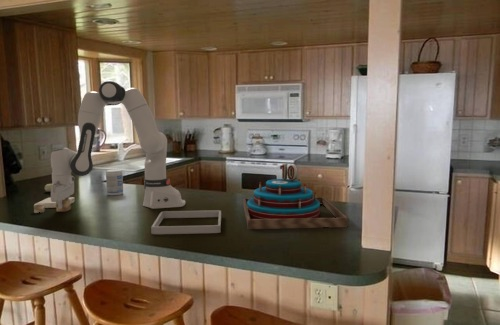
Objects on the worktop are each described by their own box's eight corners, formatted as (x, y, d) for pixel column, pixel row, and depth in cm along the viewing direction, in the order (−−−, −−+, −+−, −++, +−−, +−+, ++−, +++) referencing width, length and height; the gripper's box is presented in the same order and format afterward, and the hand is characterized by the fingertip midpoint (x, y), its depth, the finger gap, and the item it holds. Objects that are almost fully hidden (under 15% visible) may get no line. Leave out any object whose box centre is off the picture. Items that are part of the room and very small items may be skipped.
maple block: (44, 210, 199) (44, 202, 199) (43, 212, 195) (42, 204, 195) (35, 211, 198) (35, 203, 197) (34, 213, 194) (33, 205, 194)
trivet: (74, 201, 219) (74, 197, 219) (64, 207, 205) (64, 202, 205) (48, 201, 218) (48, 197, 218) (36, 207, 204) (36, 203, 204)
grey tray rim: (221, 216, 186) (221, 210, 186) (220, 232, 161) (220, 225, 160) (161, 217, 185) (161, 211, 184) (151, 234, 159) (150, 227, 158)
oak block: (70, 208, 202) (70, 199, 201) (66, 211, 197) (66, 201, 196) (60, 209, 202) (60, 199, 201) (56, 211, 197) (55, 201, 196)
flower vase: (56, 202, 250) (79, 198, 226) (35, 199, 241) (57, 195, 218) (59, 184, 253) (82, 178, 229) (39, 181, 244) (60, 174, 220)
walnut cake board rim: (323, 204, 211) (323, 196, 210) (347, 227, 168) (348, 218, 168) (243, 205, 208) (243, 198, 208) (247, 229, 166) (247, 219, 165)
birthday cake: (232, 213, 192) (232, 164, 189) (282, 203, 215) (282, 158, 212) (283, 229, 166) (284, 172, 163) (334, 215, 188) (336, 165, 185)
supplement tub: (121, 195, 235) (120, 171, 233) (105, 196, 233) (104, 171, 232) (124, 192, 244) (123, 169, 242) (108, 192, 243) (107, 169, 241)
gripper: (59, 183, 187) (61, 211, 189) (75, 176, 207) (77, 202, 209) (46, 183, 187) (48, 212, 189) (63, 176, 207) (65, 202, 209)
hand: (63, 206), depth 199 cm, fingers closed on oak block, 5 cm apart
